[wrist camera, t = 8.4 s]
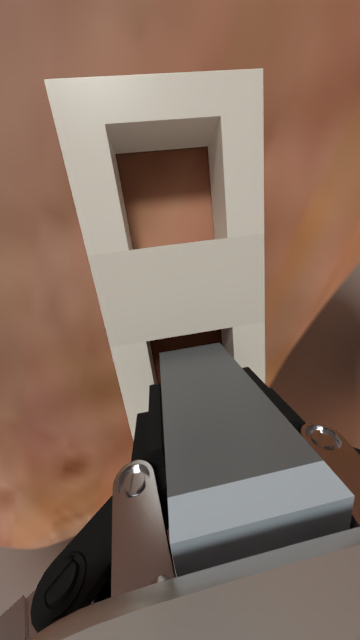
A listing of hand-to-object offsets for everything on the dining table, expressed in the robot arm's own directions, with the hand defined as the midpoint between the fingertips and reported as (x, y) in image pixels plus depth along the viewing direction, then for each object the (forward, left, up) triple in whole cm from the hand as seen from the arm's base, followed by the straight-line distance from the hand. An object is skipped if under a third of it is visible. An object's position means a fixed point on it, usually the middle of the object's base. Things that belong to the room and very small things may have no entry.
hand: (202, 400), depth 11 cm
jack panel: (0, -6, -5) cm, 8 cm away
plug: (0, 0, -3) cm, 3 cm away
